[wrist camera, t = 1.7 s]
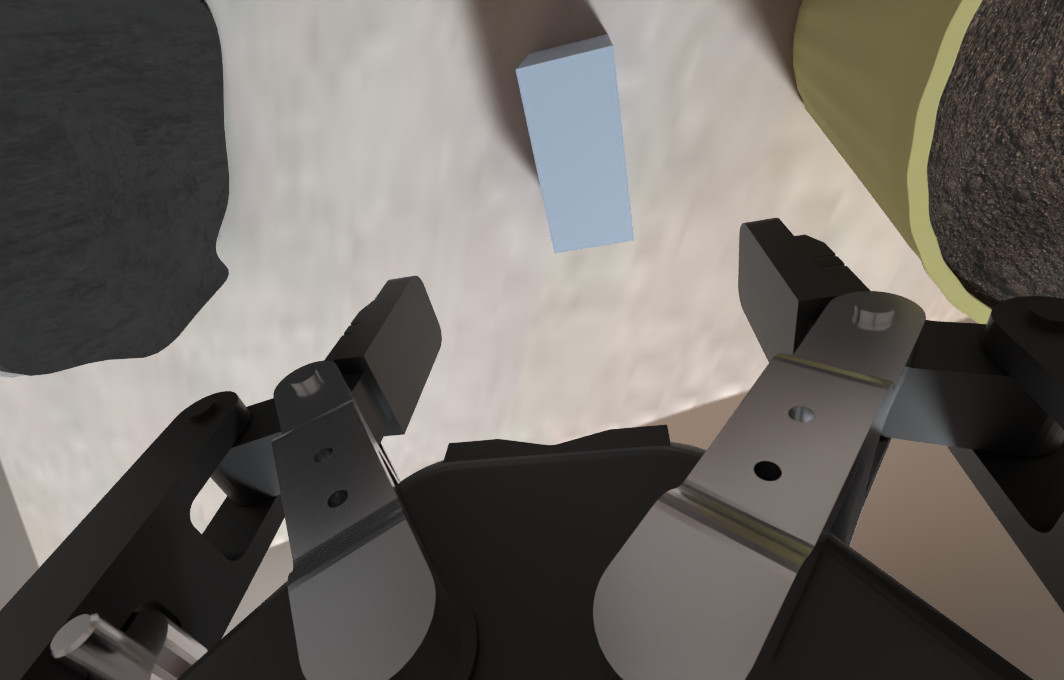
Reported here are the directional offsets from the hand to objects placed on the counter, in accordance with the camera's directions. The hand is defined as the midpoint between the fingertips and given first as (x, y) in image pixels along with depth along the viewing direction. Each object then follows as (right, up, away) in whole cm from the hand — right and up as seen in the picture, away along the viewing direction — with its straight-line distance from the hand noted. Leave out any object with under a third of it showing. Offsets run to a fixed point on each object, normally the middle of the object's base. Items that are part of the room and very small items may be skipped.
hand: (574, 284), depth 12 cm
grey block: (+2, +10, +13) cm, 17 cm away
